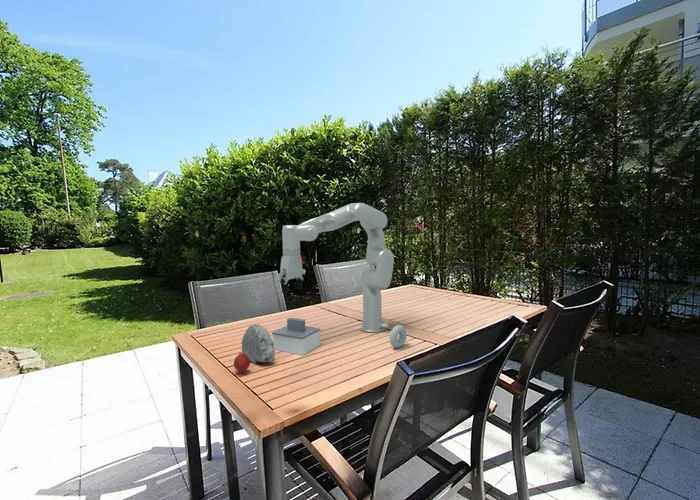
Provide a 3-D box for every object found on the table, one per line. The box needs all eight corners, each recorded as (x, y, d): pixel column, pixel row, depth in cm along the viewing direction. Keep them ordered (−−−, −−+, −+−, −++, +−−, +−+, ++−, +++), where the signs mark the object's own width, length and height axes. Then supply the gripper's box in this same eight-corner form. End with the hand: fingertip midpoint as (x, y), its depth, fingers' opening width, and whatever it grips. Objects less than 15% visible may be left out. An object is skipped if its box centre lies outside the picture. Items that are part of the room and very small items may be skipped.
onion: (236, 369, 133) (235, 349, 132) (251, 368, 133) (250, 348, 133) (232, 376, 127) (231, 355, 126) (248, 375, 128) (247, 354, 127)
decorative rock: (240, 358, 144) (238, 323, 142) (254, 353, 149) (252, 319, 147) (263, 368, 133) (262, 330, 132) (277, 363, 138) (276, 326, 137)
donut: (394, 351, 148) (393, 328, 147) (387, 349, 151) (387, 327, 150) (408, 345, 155) (408, 323, 154) (402, 343, 157) (402, 322, 157)
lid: (320, 332, 157) (319, 317, 156) (302, 341, 145) (302, 325, 144) (290, 327, 165) (290, 313, 164) (271, 336, 153) (271, 321, 152)
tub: (319, 345, 157) (319, 330, 157) (303, 355, 146) (302, 339, 145) (291, 340, 165) (291, 325, 164) (273, 349, 153) (272, 333, 153)
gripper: (298, 251, 163) (298, 287, 164) (271, 254, 149) (272, 293, 150) (310, 251, 159) (311, 288, 160) (284, 255, 144) (285, 295, 146)
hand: (292, 291), depth 155 cm, fingers open, 9 cm apart
